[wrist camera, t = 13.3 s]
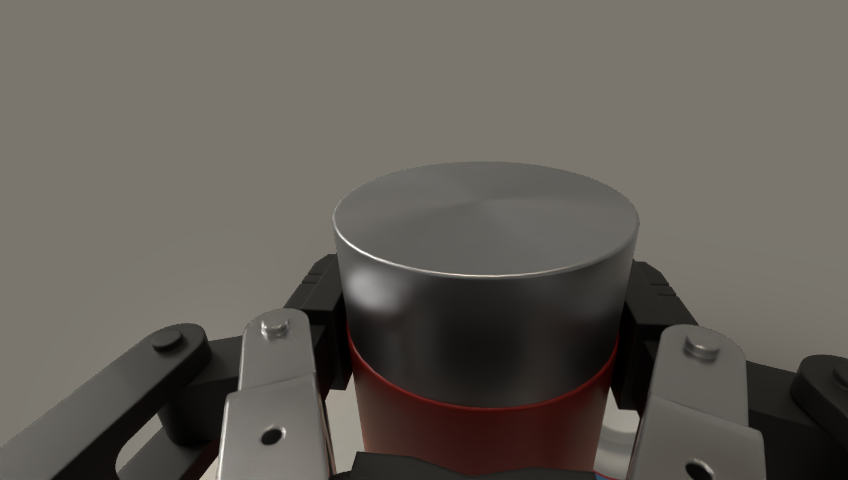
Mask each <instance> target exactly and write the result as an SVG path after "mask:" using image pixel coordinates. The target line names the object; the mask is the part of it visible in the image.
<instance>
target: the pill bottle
mask: <svg viewBox="0 0 848 480" xmlns="http://www.w3.org/2000/svg"><path fill="white" fill-rule="evenodd" d="M639 419H640V418H639V415H638V413H637V411H634V410H619V409H618V408H617V405H616V402H615V399H614V396H613V393H612V390H611V388H610V389H609V394H608V398H607V403H606V408H605V413H604V418H603V423H602V428H601V433H600V438H599V443H598V447H597V452H596V457H595V462H594V467H593V472H595V475H596V479H597V480H625V479H626V475H627V470H628V466H629V462H630V457H631V453H632V448H633V444H634V440H635V435H636V431H637V427H638V423H639Z"/></svg>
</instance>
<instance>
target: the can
mask: <svg viewBox="0 0 848 480" xmlns="http://www.w3.org/2000/svg"><path fill="white" fill-rule="evenodd" d="M332 223H333V230H334V236H335V243H336V249H337V256H338V263H339V269H340V276H341V283H342V289H343V296H344V302H345V309H346V316H347V320H346V332H347V338H348V345H349V351H350V358H351V364H352V371H353V377H354V384H355V390H356V396H357V403H358V409H359V416H360V422H361V429H362V435H363V442H364V448H365V452H369V453H381V454H392V455H404V456H413V457H416V458H419V459H422V460H425V461H427V462H430V463H433V464H436V465H439V466H442V467H445V468H448V469H451V470H454V471H457V472H459V473H462V474H466V475H471V476H476V475H483V474H490V473H496V472H502V471H509V470H515V469H521V468H527V467H543V468H555V469H566V470H578V471H589V472H593V467H594V462H595V457H596V452H597V447H598V443H599V438H600V433H601V428H602V423H603V418H604V413H605V408H606V403H607V398H608V394H609V389H610V384H611V379H612V374H613V369H614V364H615V359H616V354H617V349H618V344H619V325H620V320H621V315H622V310H623V305H624V300H625V295H626V290H627V285H628V280H629V275H630V270H631V265H632V260H633V255H634V250H635V245H636V240H637V235H638V230H639V225H640V222H639V216H638V213H637V211H636V209H635V207H634V205H633V204H632V203H631V202H630V201H629V200H628V199H627V198H626V197H625V196H624V195H622V194H621V193H620V192H618V191H617V190H615V189H613V188H611V187H610V186H608V185H605V184H603V183H601V182H599V181H597V180H594V179H591V178H588V177H586V176H583V175H579V174H576V173H572V172H568V171H564V170H560V169H555V168H550V167H545V166H538V165H530V164H521V163H509V162H457V163H444V164H436V165H429V166H422V167H416V168H412V169H407V170H402V171H399V172H395V173H391V174H388V175H385V176H382V177H379V178H376V179H374V180H372V181H369V182H367V183H365V184H363V185H361V186H359V187H357V188H356V189H354V190H353V191H351V192H349V193H348V194H347V195H346V196H345V197H344V198H342V200H341V201H340V202H339V204H338V205H337V206H336V209H335V211H334V214H333V221H332Z"/></svg>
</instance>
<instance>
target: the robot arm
mask: <svg viewBox="0 0 848 480" xmlns="http://www.w3.org/2000/svg"><path fill="white" fill-rule="evenodd" d="M346 320H347V316H346V309H345V302H344V296H343V289H342V283H341V276H340V269H339V263H338V256H337V253H336V254H328V255H327V256H325V257H324V258H322V259H320V260H319V261H317V262H316V263H315V264H314V266H313V267H312V268H311V270H310V271H309V272H308V275H306V276H305V278H304V279H303V281H302V284H300V285H299V286H298V288H297V289H296V290H295V292H294V293H293V294H292V296H291V297H290V299H289V300H288V301H287V303H286V304H285V306H284V307H283V308H282V309H277V310H272V311H269V312H266V313H264V314H262V315H260V316H258V317H256V318H255V319H253V320H252V321H251V322H250V323H249V324H248V325H247V326H246V327H245V329H244V331H243V335H242V336H237V337H232V338H226V339H219V340H213V341H208V339H207V336H206V333H205V331H204V329H203V328H202V327H201V326H199V325H196V324H190V323H187V324H186V323H184V324H176V325H172V326H169V327H165V328H163V329H160V330H158V331H156V332H154V333H152V334H150V335H148V336H147V337H145V338H144V339H143V340H141V341H140V342H139V343H138V344H136V345H135V346H133V347H132V348H131V349H129V350H128V351H127V352H125V353H124V354H123V355H122V356H120V357H119V358H118V359H116V360H115V361H114V362H112V363H111V364H110V365H108V366H107V367H106V368H104V369H103V370H102V371H101V372H99V373H98V374H97V375H95V376H94V377H93V378H91V379H90V380H89V381H87V382H86V383H85V384H84V385H82V386H81V387H79V388H78V389H77V390H75V391H74V392H73V393H72V394H70V395H69V396H68V397H66V398H65V399H64V400H62V401H61V402H60V403H58V404H57V405H56V406H54V407H53V408H52V409H50V410H49V411H48V412H47V413H45V414H44V415H43V416H41V417H40V418H39V419H37V420H36V421H35V422H33V423H32V424H31V425H29V426H28V427H27V428H25V429H24V430H23V431H22V432H20V433H19V434H18V435H16V436H15V437H14V438H12V439H11V440H10V441H8V442H7V443H6V444H4V445H3V446H2V447H1V448H0V480H199V479H200V478H201V477H202V475H203V474H204V473H205V472H206V470H207V469H208V468H209V466H210V465H211V464H212V463H213V461H214V460H215V459H216V458H217V456H218V455H219V456H218V464H217V472H216V480H597V479H596V475H595V472H589V471H578V470H566V469H555V468H543V467H527V468H521V469H515V470H509V471H502V472H496V473H490V474H483V475H476V476H471V475H466V474H462V473H459V472H457V471H454V470H451V469H448V468H445V467H442V466H439V465H436V464H433V463H430V462H427V461H425V460H422V459H419V458H416V457H413V456H404V455H392V454H381V453H369V452H357V453H356V456H355V460H354V463H353V466H352V470H351V471H347V472H342V473H339V474H337V472H336V466H335V459H334V452H333V446H332V439H331V433H330V426H329V420H328V413H327V407H326V402H325V400H326V397H327V395H328V393H329V390H330V389H333V390H346V388H347V385H348V382H349V380H350V377H351V375H352V372H353V371H352V364H351V358H350V351H349V345H348V338H347V332H346ZM610 388H611V390H612V393H613V396H614V399H615V402H616V405H617V408H618V409H619V410H634V411H637V413H638V415H639V418H640V419H639V423H638V427H637V431H636V435H635V440H634V444H633V448H632V453H631V457H630V462H629V466H628V470H627V475H626V479H625V480H848V359H846V358H843V357H837V356H832V355H812V356H809V357H806V358H805V359H803V360H802V362H801V364H800V366H799V368H798V370H797V373H794V372H790V371H785V370H781V369H777V368H773V367H769V366H765V365H761V364H757V363H753V362H750V361H747V360H746V358H745V354H744V352H743V351H742V349H741V348H740V347H739V346H738V345H737V344H736V343H735V342H733V341H732V340H731V339H729V338H728V337H726V336H724V335H723V334H720V333H718V332H716V331H714V330H711V329H708V328H705V327H701V326H699V325H698V323H697V322H696V321H695V319H694V318H693V317H692V315H691V314H690V312H689V311H688V310H687V308H686V307H685V305H684V304H683V303H682V301H681V300H680V298H679V297H676V293H675V292H674V290H673V289H672V287H670V286H669V283H668V282H667V281H666V279H665V278H664V276H663V275H662V274H661V272H659V271H658V270H656V269H655V268H653V267H651V266H650V265H648V264H647V263H646V262H635V260H634V259H633V260H632V265H631V270H630V275H629V280H628V285H627V290H626V295H625V300H624V305H623V310H622V315H621V320H620V325H619V344H618V349H617V354H616V359H615V364H614V369H613V374H612V379H611V384H610ZM156 413H157V414H158V416H159V419H160V421H161V423H162V425H163V427H162V428H161V429H160V430H159V431H158V432H157V433H156V434H155V435H154V436H153V437H152V438H151V439H150V440H149V441H148V442H147V443H146V444H145V445H144V446H143V447H142V448H141V449H140V450H139V451H138V452H137V454H135V456H134V457H133V458H132V459H131V460H130V461H129V462H128V463H127V464H126V465H125V466H124V467H123V468H122V469H121V470H120V471H119V472H118V473H116V470H115V464H116V460H117V457H118V454H119V452H120V450H121V448H122V447H123V446H124V445H125V444H126V442H127V441H128V440H129V439H130V438H131V437H133V436H134V435H135V433H137V432H138V431H139V430H140V429H141V428H142V427H143V426H144V425H145V424H146V423H147V422H148V421H149V420H150V419H151V418H152V417H153V416H154V415H155V414H156Z"/></svg>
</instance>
